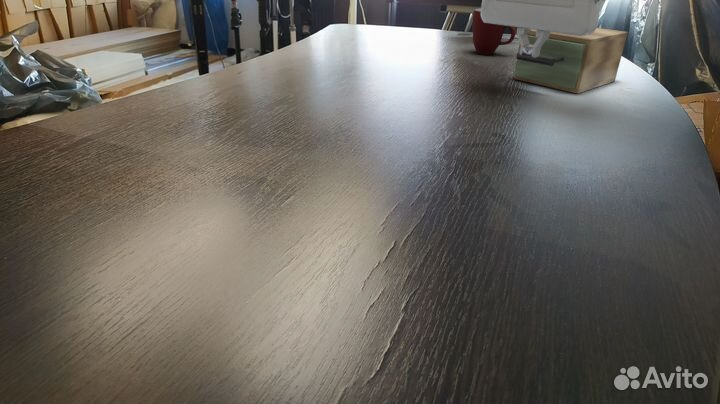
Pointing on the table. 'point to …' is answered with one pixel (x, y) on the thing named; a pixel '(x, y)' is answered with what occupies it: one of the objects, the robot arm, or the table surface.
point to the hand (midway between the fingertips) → (529, 56)
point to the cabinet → (592, 58)
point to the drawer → (552, 62)
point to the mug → (488, 35)
